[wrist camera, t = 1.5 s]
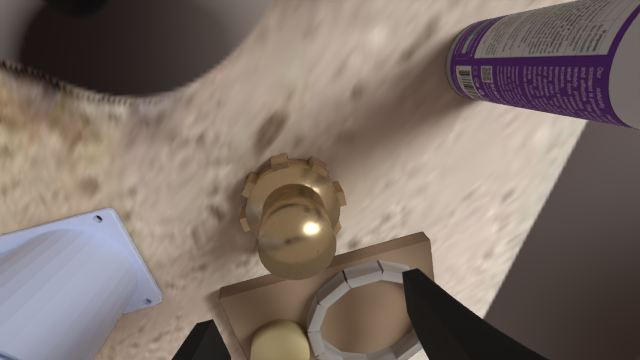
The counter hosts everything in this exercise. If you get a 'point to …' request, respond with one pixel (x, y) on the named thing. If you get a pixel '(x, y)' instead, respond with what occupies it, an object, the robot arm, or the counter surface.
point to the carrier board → (332, 307)
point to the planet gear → (293, 216)
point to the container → (555, 61)
